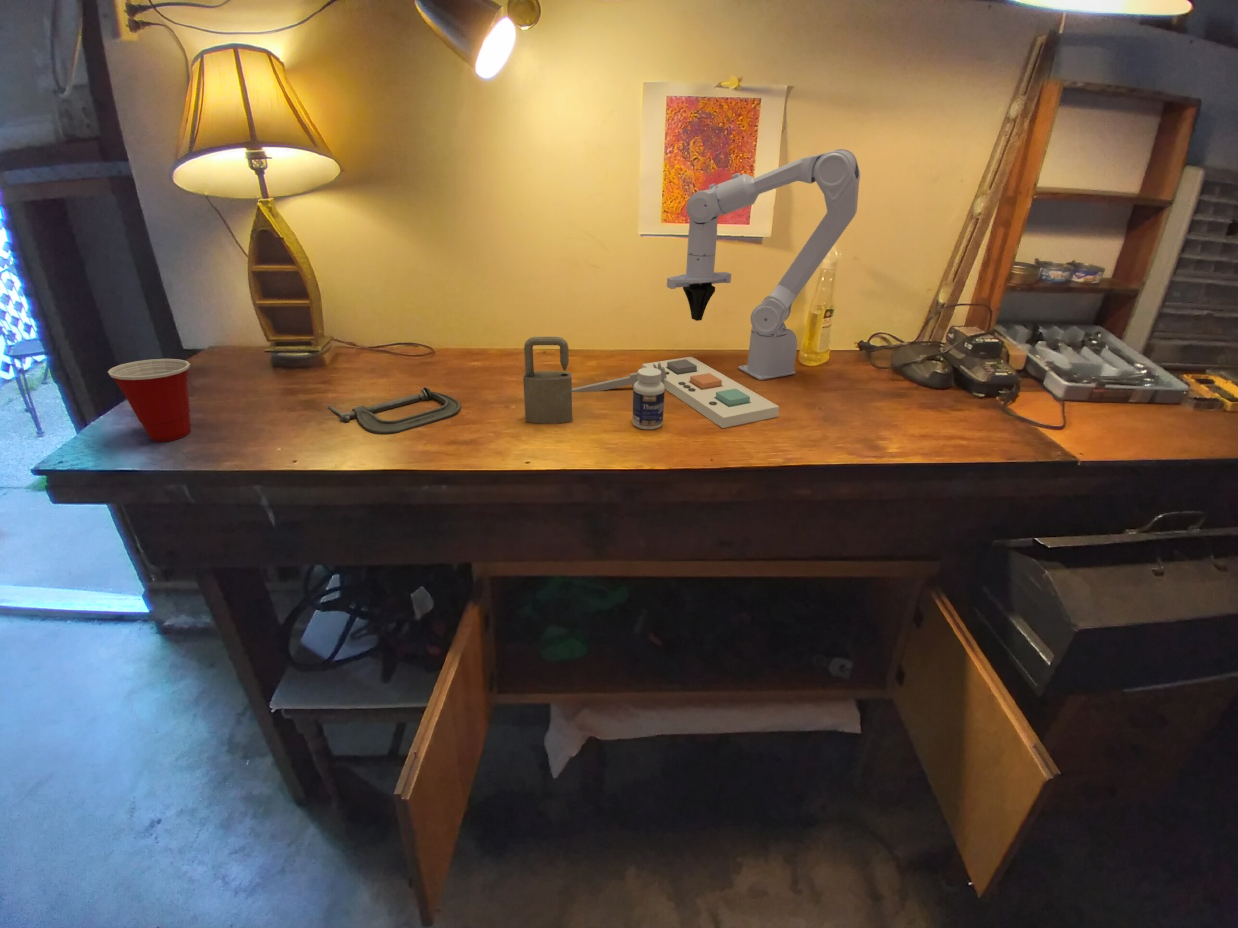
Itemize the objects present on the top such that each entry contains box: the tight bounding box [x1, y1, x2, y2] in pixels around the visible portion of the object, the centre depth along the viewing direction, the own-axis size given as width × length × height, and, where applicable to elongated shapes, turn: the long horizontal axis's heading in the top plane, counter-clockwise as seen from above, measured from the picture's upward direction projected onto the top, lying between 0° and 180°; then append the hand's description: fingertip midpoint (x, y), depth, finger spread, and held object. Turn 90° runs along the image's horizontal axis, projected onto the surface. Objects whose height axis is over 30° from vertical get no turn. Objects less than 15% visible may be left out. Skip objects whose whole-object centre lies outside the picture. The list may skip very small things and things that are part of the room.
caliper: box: [572, 361, 667, 393], centre depth 129 cm, size 20×1×6 cm, turn 99°
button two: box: [667, 359, 697, 375], centre depth 135 cm, size 4×4×3 cm
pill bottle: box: [632, 367, 666, 430], centre depth 113 cm, size 5×5×10 cm
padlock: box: [522, 336, 573, 424], centre depth 113 cm, size 4×8×15 cm, turn 93°
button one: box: [716, 389, 750, 407], centre depth 121 cm, size 4×4×3 cm
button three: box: [690, 373, 722, 390], centre depth 128 cm, size 4×4×3 cm
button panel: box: [641, 356, 780, 429], centre depth 128 cm, size 12×30×2 cm, turn 26°
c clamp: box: [327, 386, 462, 435], centre depth 118 cm, size 20×17×3 cm
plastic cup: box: [107, 358, 192, 443], centre depth 106 cm, size 11×11×12 cm
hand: (696, 319), depth 141 cm, fingers closed
